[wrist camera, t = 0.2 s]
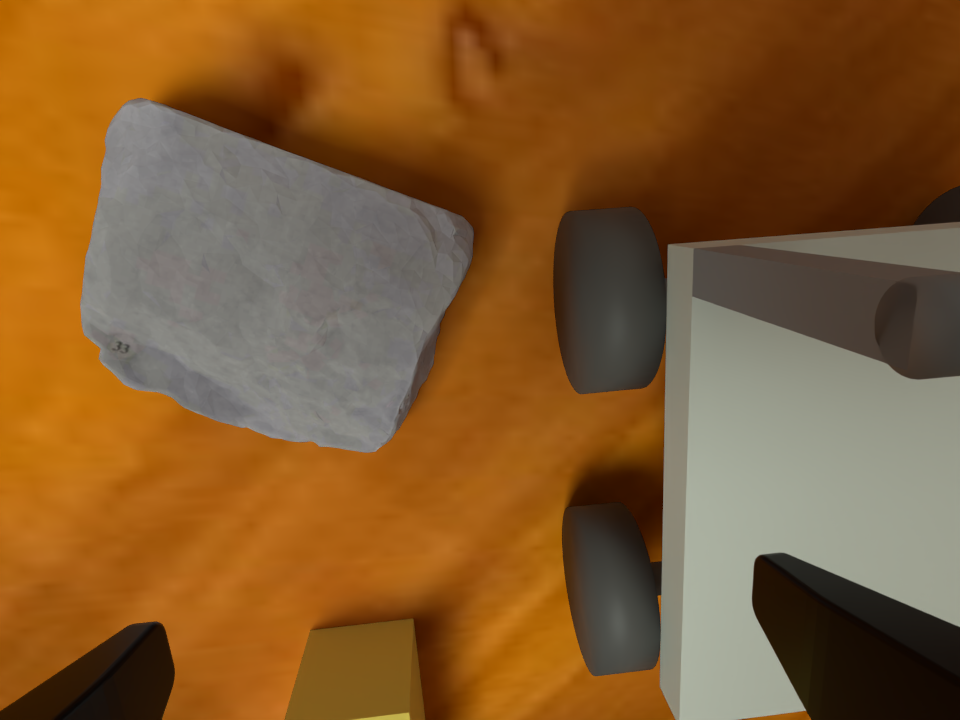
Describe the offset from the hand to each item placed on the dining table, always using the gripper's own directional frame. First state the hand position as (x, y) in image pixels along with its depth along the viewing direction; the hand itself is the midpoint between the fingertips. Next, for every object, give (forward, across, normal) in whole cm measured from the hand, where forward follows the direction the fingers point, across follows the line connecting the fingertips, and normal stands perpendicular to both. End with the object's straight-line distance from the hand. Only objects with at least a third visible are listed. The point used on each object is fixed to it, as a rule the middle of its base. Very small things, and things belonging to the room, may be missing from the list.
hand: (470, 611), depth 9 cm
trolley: (+14, -12, +3) cm, 19 cm away
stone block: (+15, +6, -3) cm, 16 cm away
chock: (+14, +5, +15) cm, 21 cm away
